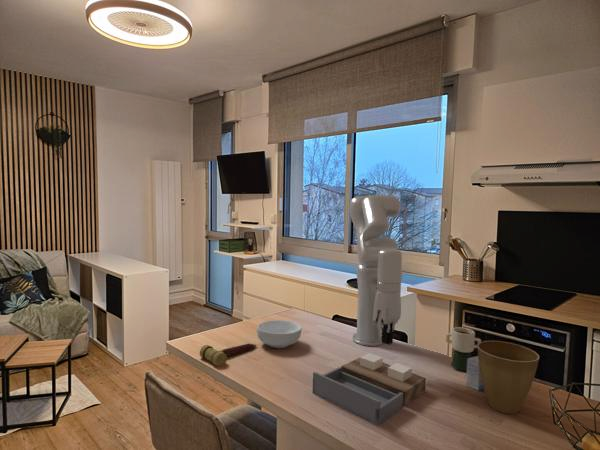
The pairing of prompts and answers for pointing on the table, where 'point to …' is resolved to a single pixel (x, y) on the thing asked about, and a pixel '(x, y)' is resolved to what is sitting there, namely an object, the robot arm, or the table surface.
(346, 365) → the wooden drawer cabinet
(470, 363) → the medicine box
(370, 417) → the tray
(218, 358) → the gavel
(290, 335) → the cereal bowl
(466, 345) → the character mug
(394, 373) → the tile
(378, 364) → the white square tile
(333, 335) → the table surface
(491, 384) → the plant pot
